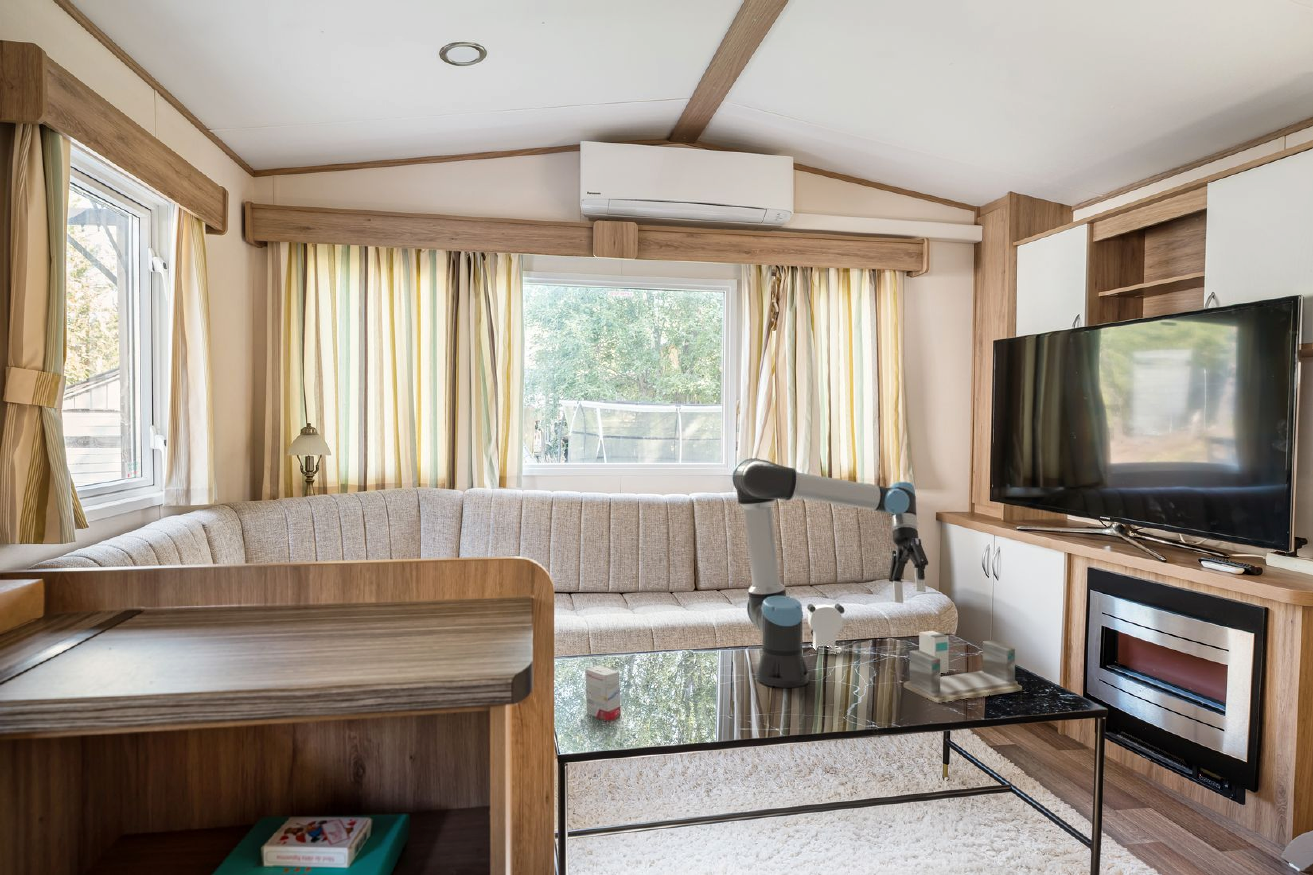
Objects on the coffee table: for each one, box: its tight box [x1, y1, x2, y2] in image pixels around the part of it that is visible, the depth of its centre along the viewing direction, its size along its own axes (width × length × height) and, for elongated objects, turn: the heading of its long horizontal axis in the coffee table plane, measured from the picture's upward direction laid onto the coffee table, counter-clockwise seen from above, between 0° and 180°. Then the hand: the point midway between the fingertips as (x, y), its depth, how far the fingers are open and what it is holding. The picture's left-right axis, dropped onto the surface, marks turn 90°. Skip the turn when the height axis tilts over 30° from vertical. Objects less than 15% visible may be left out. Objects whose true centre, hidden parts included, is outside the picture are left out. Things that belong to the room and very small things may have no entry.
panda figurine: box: [806, 603, 845, 655], centre depth 252 cm, size 12×11×15 cm
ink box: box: [584, 664, 622, 722], centre depth 196 cm, size 9×5×12 cm, turn 44°
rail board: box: [903, 640, 1023, 704], centre depth 214 cm, size 29×14×11 cm, turn 110°
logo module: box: [918, 630, 949, 675], centre depth 230 cm, size 5×7×11 cm
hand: (909, 597), depth 227 cm, fingers open, 13 cm apart
